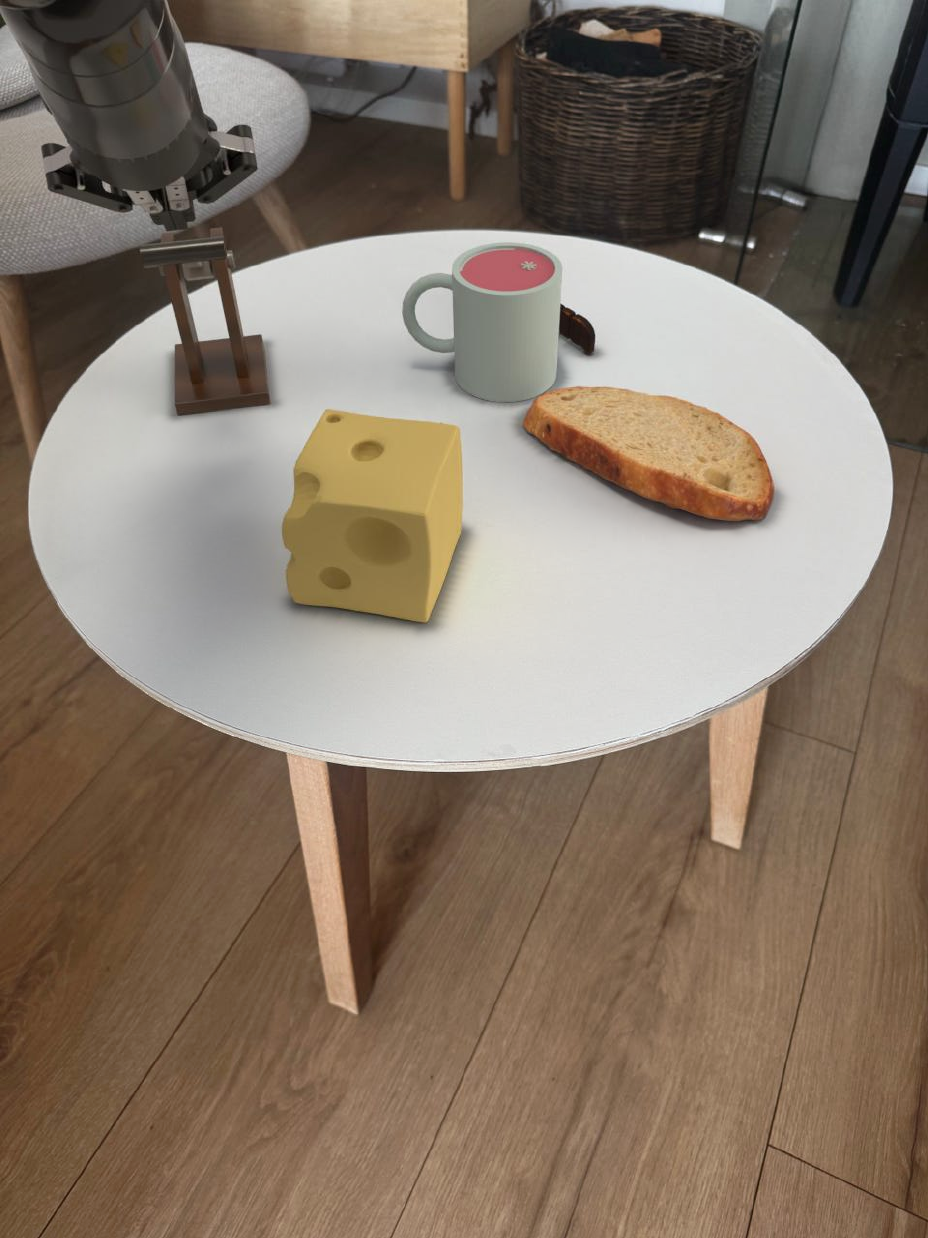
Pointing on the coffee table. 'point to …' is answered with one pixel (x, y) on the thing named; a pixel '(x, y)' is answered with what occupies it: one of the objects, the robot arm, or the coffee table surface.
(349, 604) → the cheese
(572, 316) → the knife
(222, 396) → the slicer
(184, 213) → the robot arm
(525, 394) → the mug
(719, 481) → the slice of bread
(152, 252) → the lever
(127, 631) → the coffee table surface
